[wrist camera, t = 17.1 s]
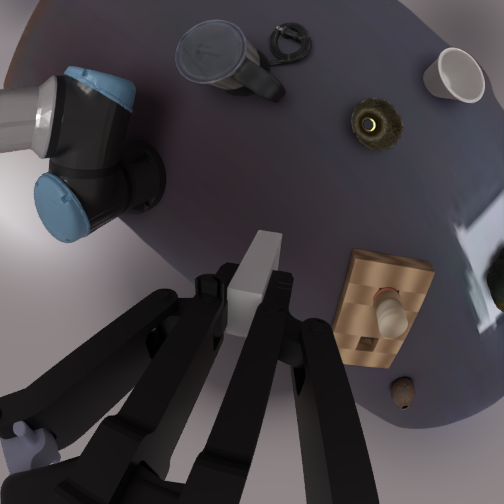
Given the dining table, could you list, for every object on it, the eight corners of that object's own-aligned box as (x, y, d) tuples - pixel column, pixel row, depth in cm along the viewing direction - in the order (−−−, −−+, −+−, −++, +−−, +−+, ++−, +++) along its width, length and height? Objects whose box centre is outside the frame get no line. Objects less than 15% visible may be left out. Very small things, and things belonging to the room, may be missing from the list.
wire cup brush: (397, 134, 36) (412, 136, 29) (362, 154, 39) (370, 160, 32) (373, 95, 34) (384, 88, 27) (337, 115, 38) (340, 113, 31)
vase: (385, 383, 60) (387, 409, 52) (405, 371, 57) (410, 397, 49) (397, 391, 61) (400, 416, 53) (417, 380, 57) (421, 405, 50)
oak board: (324, 348, 59) (323, 361, 55) (353, 248, 47) (355, 258, 43) (386, 355, 56) (388, 368, 52) (428, 261, 44) (434, 272, 40)
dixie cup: (410, 58, 29) (431, 44, 21) (450, 62, 27) (477, 51, 18) (421, 104, 33) (446, 100, 24) (460, 106, 30) (490, 105, 21)
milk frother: (209, 88, 40) (164, 77, 27) (239, 13, 32) (207, -22, 19) (287, 112, 39) (271, 105, 27) (319, 33, 32) (317, -4, 19)
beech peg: (367, 297, 50) (374, 336, 40) (375, 275, 47) (385, 312, 37) (390, 300, 49) (401, 339, 39) (398, 278, 46) (412, 316, 36)
